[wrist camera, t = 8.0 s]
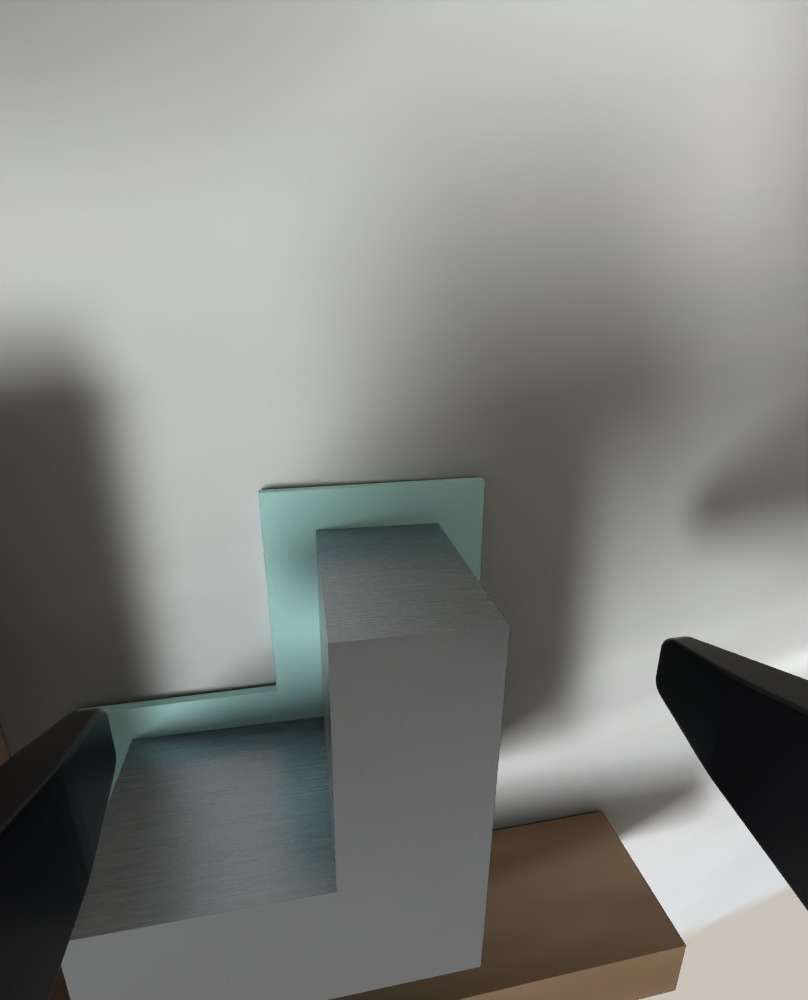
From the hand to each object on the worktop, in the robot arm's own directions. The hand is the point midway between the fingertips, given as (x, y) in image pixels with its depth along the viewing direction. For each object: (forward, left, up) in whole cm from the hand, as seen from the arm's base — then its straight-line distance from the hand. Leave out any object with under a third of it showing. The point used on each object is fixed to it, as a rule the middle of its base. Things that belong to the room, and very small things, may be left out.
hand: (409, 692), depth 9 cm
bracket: (+2, -2, -3) cm, 4 cm away
